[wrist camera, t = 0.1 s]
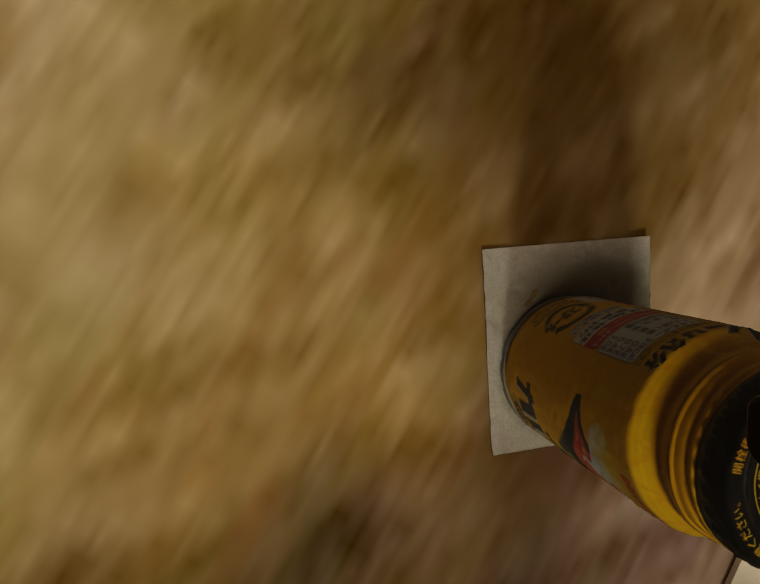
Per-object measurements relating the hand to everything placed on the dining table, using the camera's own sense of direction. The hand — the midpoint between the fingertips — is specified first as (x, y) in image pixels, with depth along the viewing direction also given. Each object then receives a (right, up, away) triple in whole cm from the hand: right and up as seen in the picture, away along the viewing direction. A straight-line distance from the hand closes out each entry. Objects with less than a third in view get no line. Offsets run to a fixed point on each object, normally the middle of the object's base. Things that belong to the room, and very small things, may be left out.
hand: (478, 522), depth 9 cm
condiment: (+6, +1, +17) cm, 19 cm away
